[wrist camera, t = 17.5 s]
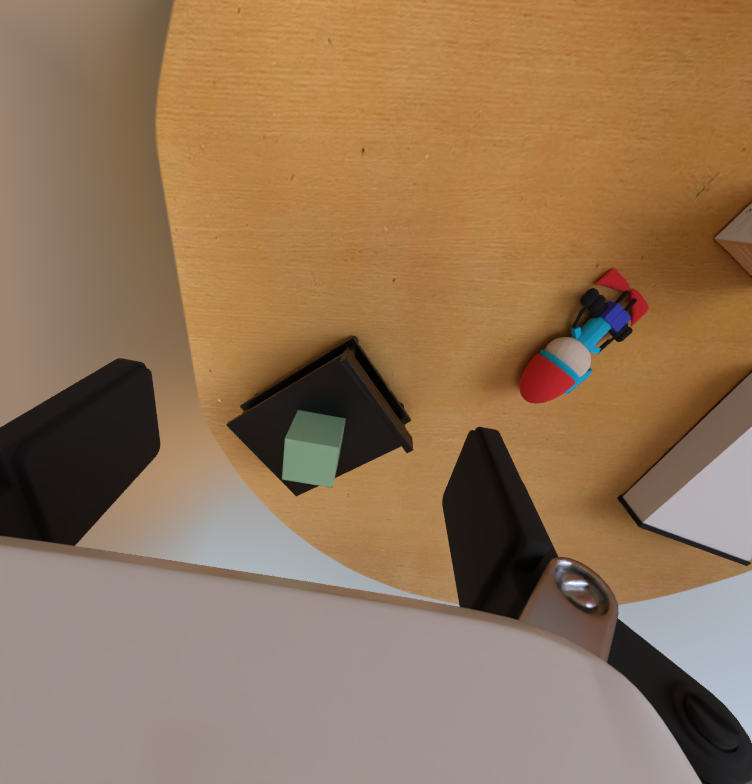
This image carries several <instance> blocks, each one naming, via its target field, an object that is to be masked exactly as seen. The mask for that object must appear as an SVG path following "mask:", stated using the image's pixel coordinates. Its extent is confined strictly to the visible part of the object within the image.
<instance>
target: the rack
mask: <svg viewBox="0 0 752 784" xmlns="http://www.w3.org/2000/svg"><path fill="white" fill-rule="evenodd" d="M240 407H241V408H242V409H243V410H244V412H243V413H242V414H241V415H239V416H238V417H236V418H234V419H233V420H231V421H229V422H228V423H227V426H228V427H229V428H230V429H231V430H232V431H233V433H234V434H235V435H236V436H237V437H238V438H239V439H240V440H241V441H242V442H243V443H244V444H245V445H246V446H247V447H248V448H249V449H250V450H251V451H252V452H253V453H254V454H255V455H256V456H257V457H258V458H259V459H260V460H261V461H262V462H263V463H264V464H265V465H266V466H267V467H268V468H269V469H270V470H271V471H272V472H273V473H274V474H275V475H276V476H277V477H278V478H279V479H280V480H281V481H282V482H283V483H284V484H285V485H286V486H287V487H288V489H289V490H290V491H291V492H292V493H293V494H294V495H295V496H298V495H300V494H303V493H305V492H307V491H309V490H311V489H313V488H315V487H317V486H319V485H313V484H307V483H301V482H295V481H289V480H283V479H282V472H283V458H284V444H285V437H286V435H287V433H288V431H289V429H290V426H291V424H292V422H293V420H294V418H295V415H296V413H297V411H298V410H300V411H306V412H312V413H317V414H323V415H329V416H334V417H340V418H345V419H346V420H345V426H344V432H343V438H342V444H341V450H340V456H339V460H338V465H337V470H336V475H335V478H336V477H338V476H340V475H342V474H344V473H346V472H349V471H351V470H353V469H355V468H357V467H359V466H361V465H363V464H365V463H367V462H369V461H372V460H374V459H376V458H378V457H380V456H382V455H384V454H386V453H388V452H390V451H392V450H395V449H397V448H399V447H401V446H402V447H403V449H404V450H405V451H406V453H408V452H411V451H413V441H412V437H411V435H410V434H409V433H408V431H407V430H406V428H405V424H406V423H408V422H410V421H411V418H410V417H409V416H408V414H407V413H406V411H405V410H404V405H403V404H402V403H399V401H398V400H397V398H396V397H395V395H394V394H393V393H392V391H391V390H390V388H389V387H388V385H387V384H386V382H385V381H384V380H383V378H382V377H381V375H380V374H379V372H378V371H377V370H376V368H375V367H374V365H373V364H372V362H371V361H370V359H369V358H368V357H367V355H366V354H365V352H364V351H363V349H362V348H361V346H360V345H359V344H358V339H357V337H355V336H350V337H349V338H348V340H346V341H344V342H343V343H341V344H339V345H338V346H336V347H335V348H333V349H331V350H330V351H328V352H326V353H325V354H323V355H321V356H320V357H318V358H317V359H315V360H313V361H312V362H310V363H308V364H307V365H305V366H303V367H302V368H300V369H299V370H297V371H295V372H294V373H292V374H290V375H289V376H287V377H285V378H284V379H282V380H281V381H279V382H277V383H276V384H274V385H272V386H271V387H269V388H268V389H266V390H264V391H263V392H261V393H259V394H256V395H255V396H254V397H253V398H251V399H250V400H248V401H246V402H245V403H243V404H241V406H240Z"/></svg>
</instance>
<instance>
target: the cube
mask: <svg viewBox="0 0 752 784" xmlns="http://www.w3.org/2000/svg"><path fill="white" fill-rule="evenodd" d="M345 420H346V419H345V418H340V417H334V416H329V415H323V414H317V413H312V412H306V411H300V410H298V411H297V413H296V415H295V418H294V420H293V422H292V424H291V426H290V429H289V431H288V433H287V435H286V437H285V444H284V458H283V472H282V479H283V480H289V481H295V482H301V483H307V484H313V485H319V486H325V487H331V488H332V487H333V484H334V479H335V475H336V470H337V465H338V460H339V456H340V450H341V444H342V438H343V432H344V426H345Z"/></svg>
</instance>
